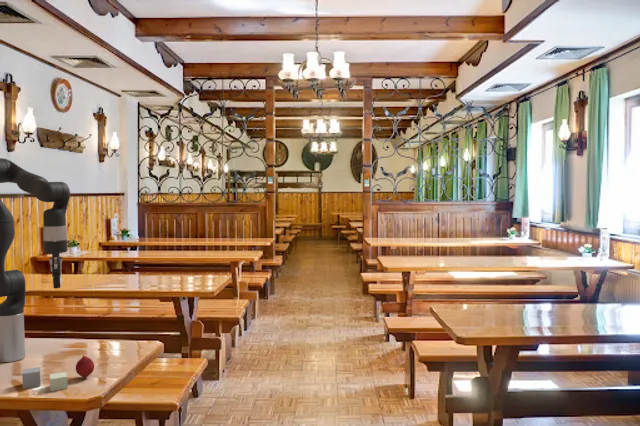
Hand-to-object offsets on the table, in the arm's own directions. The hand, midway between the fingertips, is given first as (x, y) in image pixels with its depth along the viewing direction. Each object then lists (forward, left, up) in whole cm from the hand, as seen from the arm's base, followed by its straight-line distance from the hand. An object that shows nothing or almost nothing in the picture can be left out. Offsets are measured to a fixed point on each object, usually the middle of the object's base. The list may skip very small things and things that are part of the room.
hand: (56, 287), depth 197 cm
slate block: (-2, -16, -29) cm, 33 cm away
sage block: (+8, -18, -29) cm, 35 cm away
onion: (+13, -9, -29) cm, 33 cm away
